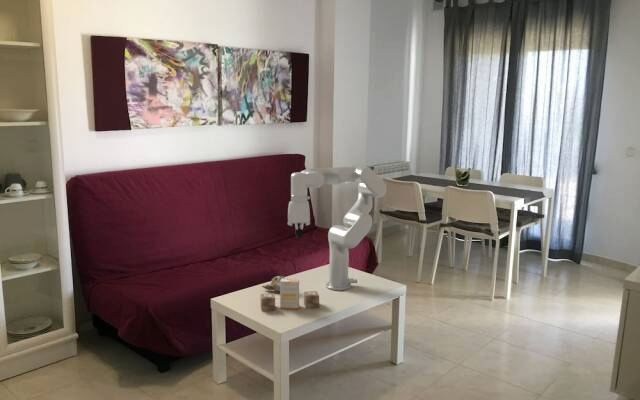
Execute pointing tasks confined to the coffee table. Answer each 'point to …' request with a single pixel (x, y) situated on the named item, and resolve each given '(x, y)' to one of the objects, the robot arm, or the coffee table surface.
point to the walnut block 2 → (311, 299)
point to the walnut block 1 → (267, 302)
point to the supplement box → (289, 293)
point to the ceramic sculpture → (274, 283)
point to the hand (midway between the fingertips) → (298, 237)
